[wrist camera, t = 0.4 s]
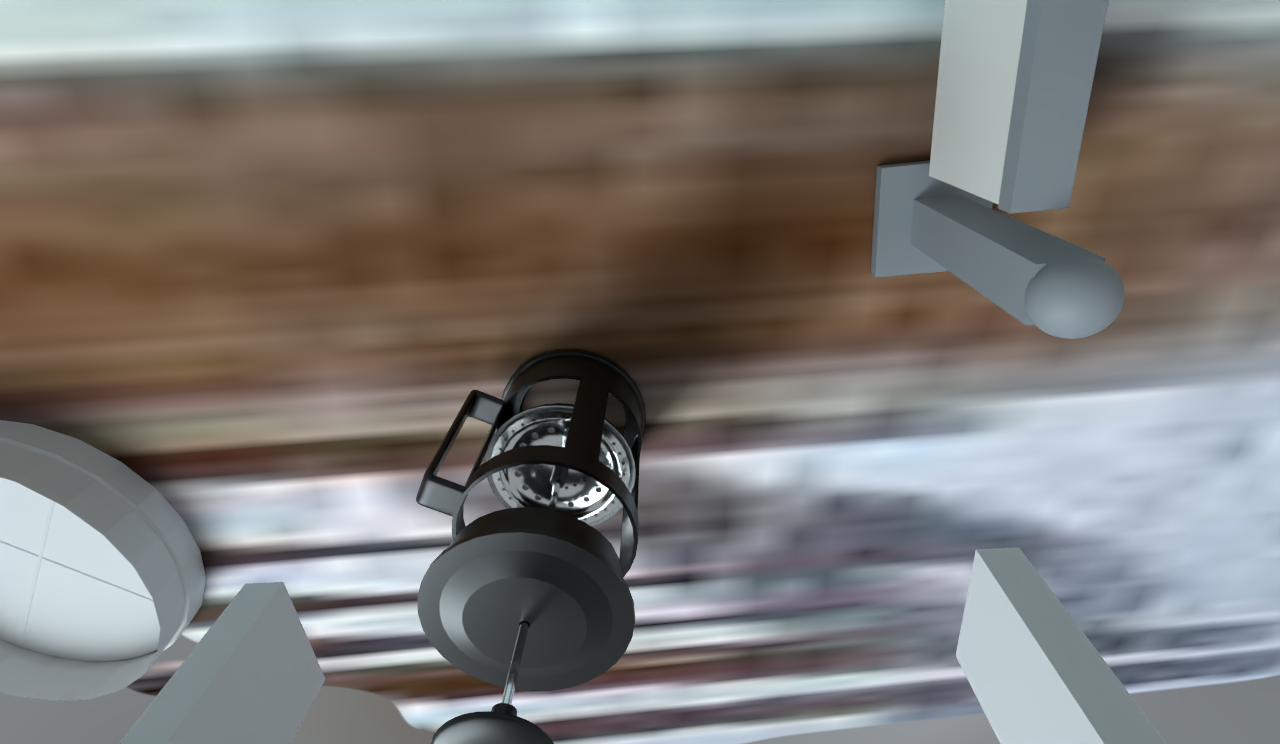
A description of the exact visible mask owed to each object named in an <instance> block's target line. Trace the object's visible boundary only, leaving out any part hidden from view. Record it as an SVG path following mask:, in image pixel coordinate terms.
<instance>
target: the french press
mask: <svg viewBox="0 0 1280 744" xmlns="http://www.w3.org/2000/svg"><path fill="white" fill-rule="evenodd" d="M560 378H568V379H576V380H580V384H579V388H578V392H577V396H576V401H575V405H573V404H562V403H557V404H545V405H541V406H537V407H532V408H530V409H528V410H525V411H523V412H521V413H520V409H521V403H522V399H523V397H524V396H525V394H526V392H527V391H528V390H529V389H530V387H531V386H532V385H533V384H535V383H537V382H541V381H545V380H549V379H560ZM608 393H611V394H612V395H613V396H615V397H616V398H617V399H618V400H619V401H620V402H621V403H622V404H623V407H624V410H625V416H626V424H625V429H624V432H623V434H622V435H621V433H620V432H619V431H618V430H617V429H616V428H615V426H614V425H613V424H612V423H610V422H609V421H608V420H607V419H606V418H605V414H606V407H607V400H608ZM467 417H473V418H476V419H478V420H481V421H483V422H486V423H489V424H491V425H492V427H491V429H490V431H489V434H488V436H487V438H486V440H485V442H484V445H483V447H482V449H481V451H480V454H479V456H478V458H477V460H476V462H475V465H474V467H473V469H472V471H471V474H470V476H469V478H468V480H467V482H466V485H465V486H462V485H459V484H457V483H454V482H451V481H448V480H446V479H443V478H440V477H437V476H436V475H437V473H438V471H439V469H440V467H441V465H442V463H443V461H444V459H445V458H446V456H447V454H448V452H449V450H450V448H451V446H452V444H453V443H454V441H455V439H456V437H457V435H458V433H459V431H460V429H461V428H462V426H463V424H464V422H465V420H466V418H467ZM645 422H646V413H645V404H644V401H643V398H642V394H641V392H640V390H639V389H638V387H637V385H636V383H635V382H634V380H633V379H632V378H631V377H630V376H629V375H628V373H627V372H626V371H625V370H624V369H622V368H621V367H620V366H619V365H617V364H616V363H615V362H613V361H611V360H609V359H607V358H605V357H604V356H602V355H599V354H595V353H592V352H589V351H584V350H576V349H564V350H555V351H551V352H547V353H543V354H541V355H539V356H537V357H535V358H532V359H530V360H529V361H528V362H526V363H525V364H524V365H522V366H521V367H520V368H519V369H518V370H517V371H516V372H515V373H514V374H513V376H512V377H511V378H510V380H509V382H508V384H507V386H506V387H505V389H504V393H503V396H502V400H501V399H499V398H496V397H494V396H491V395H489V394H486V393H483V392H481V391H478V390H472V391H471V393H470V394H469V396H468V397H467V399H466V401H465V403H464V404H463V406H462V408H461V410H460V411H459V413H458V415H457V417H456V419H455V420H454V422H453V424H452V426H451V427H450V429H449V431H448V433H447V435H446V436H445V438H444V440H443V442H442V443H441V445H440V447H439V449H438V451H437V452H436V454H435V456H434V458H433V459H432V461H431V463H430V465H429V467H428V468H427V470H426V472H425V474H424V477H423V480H422V483H421V485H420V488H419V491H418V494H417V497H416V501H417V503H418V504H420V505H422V506H425V507H427V508H430V509H433V510H436V511H439V512H442V513H444V514H447V515H450V516H453V519H452V536H453V541H452V543H451V545H450V547H449V548H447V549H446V550H444V551H443V552H442V553H441V554H440V555H439V556H438V557H437V558H436V559H435V560H434V561H433V562H432V563H431V565H430V567H429V569H428V571H427V572H426V574H425V576H424V578H423V580H422V582H421V586H420V590H419V594H418V615H419V618H420V621H421V625H422V628H423V630H424V632H425V634H426V635H427V637H428V639H429V640H430V642H431V644H432V645H433V646H434V647H435V648H436V649H437V650H438V652H439V653H440V654H441V655H442V656H443V657H444V658H445V659H447V660H448V661H449V662H450V663H452V664H453V665H454V666H455V667H457V668H458V669H460V670H462V671H464V672H465V673H467V674H469V675H471V676H472V677H474V678H477V679H479V680H482V681H485V682H487V683H490V684H492V685H497V686H501V687H505V690H504V694H503V698H502V702H501V703H499V704H496V705H494V706H493V708H492V711H491V712H474V713H467V714H464V715H461V716H458V717H455V718H453V719H451V720H449V721H447V722H446V723H445V724H443V725H442V726H441V727H440V728H439V729H438V730H437V731H436V733H435V734H434V736H433V738H432V742H431V744H554V743H553V741H552V740H551V738H550V737H549V736H548V735H547V734H546V733H545V732H544V731H543V730H542V729H540V728H539V727H538V726H536V725H535V724H533V723H531V722H529V721H527V720H525V719H522V718H520V717H517V710H516V708H515V707H514V706H512V705H511V704H512V699H513V695H514V690H524V691H552V690H558V689H564V688H570V687H573V686H576V685H579V684H582V683H585V682H588V681H590V680H592V679H594V678H595V677H597V676H599V675H601V674H603V673H604V672H605V671H607V670H608V669H609V668H610V667H612V666H613V665H614V664H616V662H617V661H618V660H619V659H620V657H621V656H622V655H623V654H624V653H625V651H626V649H627V647H628V645H629V643H630V641H631V639H632V635H633V630H634V624H635V612H634V602H633V599H632V596H631V593H630V590H629V588H628V585H627V584H626V582H625V581H624V579H623V577H624V576H625V575H626V573H627V572H628V571H629V569H630V567H631V565H632V563H633V560H634V558H635V556H636V550H637V544H638V513H637V507H638V483H639V458H640V451H641V443H642V436H643V433H644V429H645ZM493 435H494V436H493ZM492 437H493V438H492ZM487 449H488V450H487ZM486 451H487V454H486V462H485V463H484V464H482V465H481V462H482V460H483V458H484V456H485V453H486ZM480 465H481V466H480ZM486 477H487V478H488V481H489V484H490V486H491V488H492V490H493V492H494V494H495V495H496V496H497V498H498V499H499V500H500V502H501V503H502V504H503V505H504V506H505V507H506V508H507V509H504V510H499V511H495V512H492V513H490V514H487V515H485V516H482V517H480V518H478V519H476V520H475V521H473V522H472V523H470V524H469V525H467V526H466V527H465V523H464V519H463V504H464V501H465V499H466V497H467V495H468V493H469V492H470V491H471V490H472V489H473V488H474V487H475V485H476V484H478V483H479V482H481V481H482V480H484V479H485V478H486ZM622 507H623V519H622V533H621V547H620V560H619V558H618V556H617V554H616V552H615V550H614V548H613V546H612V544H611V543H610V542H609V541H608V540H607V539H606V538H605V537H604V536H603V535H602V534H601V533H600V532H599V531H597V530H596V529H594V528H593V527H591V526H594V525H596V524H599V523H602V522H603V521H605V520H607V519H608V518H610V517H612V516H613V515H614V514H615V513H616V512H617V511H619V510H620V509H621V508H622Z"/></svg>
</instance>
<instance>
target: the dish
mask: <svg viewBox="0 0 1280 744" xmlns="http://www.w3.org/2000/svg"><path fill="white" fill-rule="evenodd" d="M205 584H206V576H205V571H204V566H203V562H202V557H201V552H200V549H199V547H198V545H197V544H196V542H195V540H194V538H193V536H192V534H191V532H190V531H189V529H188V527H187V525H186V523H185V521H184V520H183V518H182V517H181V516H180V515H179V514H178V513H177V512H176V511H175V509H174V508H173V507H172V506H171V505H170V504H169V503H168V502H167V500H166V499H165V498H164V497H163V496H162V495H161V494H160V493H159V491H158V490H157V489H156V488H154V487H153V486H152V485H150V484H149V483H148V482H146V481H145V480H144V479H143V478H141V477H140V476H139V475H137V474H136V473H135V472H134V471H132V470H131V469H130V468H128V467H127V466H126V465H125V464H123V463H122V462H121V461H119V460H117V459H115V458H113V457H111V456H109V455H107V454H106V453H104V452H102V451H100V450H98V449H96V448H94V447H92V446H91V445H89V444H87V443H85V442H83V441H81V440H79V439H77V438H74V437H71V436H68V435H64V434H61V433H58V432H55V431H52V430H49V429H46V428H43V427H40V426H37V425H34V424H27V423H20V422H12V421H5V420H0V692H2V693H6V694H9V695H13V696H17V697H25V698H33V699H34V698H35V699H43V700H51V701H67V700H84V699H93V698H96V697H100V696H103V695H107V694H110V693H113V692H117V691H120V690H122V689H124V688H125V687H127V686H128V685H130V684H131V683H133V682H134V681H135V680H137V679H138V678H140V677H141V676H143V675H144V674H145V673H146V671H147V670H148V669H149V668H150V666H151V665H152V664H153V663H154V661H155V660H156V659H157V658H158V656H159V655H160V654H161V653H162V651H164V650H165V649H167V648H168V647H169V646H171V645H172V644H173V643H174V642H175V641H176V639H177V638H178V637H179V636H180V635H181V633H182V632H183V631H184V630H185V629H186V627H187V626H188V625H189V624H190V622H191V621H192V619H193V618H194V616H195V615H196V613H197V612H198V610H199V609H200V607H201V606H202V602H203V596H204V590H205Z"/></svg>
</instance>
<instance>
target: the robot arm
mask: <svg viewBox="0 0 1280 744" xmlns="http://www.w3.org/2000/svg"><path fill="white" fill-rule="evenodd" d="M956 657H957V659H958V661H959V663H960V665H961V667H962V669H963V671H964V673H965V675H966V677H967V679H968V681H969V683H970V685H971V687H972V689H973V691H974V693H975V695H976V696H977V698H978V700H979V702H980V704H981V706H982V708H983V710H984V712H985V714H986V716H987V718H988V720H989V722H990V724H991V726H992V728H993V730H994V732H995V734H996V736H997V738H998V740H999V742H1000V744H1167V743H1166V742H1165V741H1164V739H1163V738H1162V737H1161V735H1160V734H1159V733H1158V732H1157V730H1156V729H1155V727H1154V726H1153V725H1152V723H1151V722H1150V721H1149V720H1148V718H1147V717H1146V715H1145V714H1144V713H1143V711H1142V710H1141V709H1140V707H1139V706H1138V705H1137V704H1136V702H1135V701H1134V700H1133V698H1132V697H1131V696H1130V694H1129V693H1128V692H1127V690H1126V689H1125V688H1124V686H1123V685H1122V684H1121V682H1120V681H1119V680H1118V678H1117V677H1116V676H1115V674H1114V673H1113V672H1112V670H1111V669H1110V668H1109V666H1108V665H1107V664H1106V662H1105V661H1104V660H1103V658H1102V657H1101V656H1100V654H1099V653H1098V652H1097V650H1096V649H1095V648H1094V646H1093V645H1092V644H1091V642H1090V641H1089V640H1088V638H1087V637H1086V636H1085V634H1084V633H1083V632H1082V630H1081V629H1080V628H1079V626H1078V625H1077V624H1076V622H1075V621H1074V620H1073V618H1072V617H1071V616H1070V614H1069V613H1068V612H1067V610H1066V609H1065V608H1064V606H1063V605H1062V604H1061V602H1060V601H1059V600H1058V599H1057V597H1056V596H1055V595H1054V593H1053V592H1052V591H1051V589H1050V588H1049V587H1048V585H1047V584H1046V583H1045V581H1044V580H1043V579H1042V577H1041V576H1040V575H1039V573H1038V572H1037V571H1036V569H1035V568H1034V567H1033V565H1032V564H1031V563H1030V561H1029V560H1028V559H1027V557H1026V556H1025V555H1024V553H1023V552H1022V551H1021V549H1020V548H998V549H977V550H976V552H975V557H974V563H973V568H972V573H971V578H970V584H969V589H968V594H967V599H966V605H965V610H964V615H963V620H962V626H961V631H960V636H959V641H958V646H957V652H956ZM324 681H325V677H324V675H323V673H322V670H321V668H320V666H319V664H318V661H317V659H316V657H315V654H314V652H313V650H312V647H311V645H310V643H309V640H308V638H307V636H306V633H305V631H304V629H303V627H302V624H301V622H300V620H299V617H298V615H297V613H296V610H295V608H294V606H293V603H292V601H291V599H290V596H289V594H288V592H287V590H286V587H285V585H284V583H283V582H274V583H253V584H245V585H244V586H243V587H242V589H241V590H240V591H239V593H238V594H237V595H236V596H235V598H234V599H233V600H232V601H231V603H230V604H229V605H228V606H227V608H226V609H225V610H224V612H223V613H222V614H221V615H220V617H219V618H218V619H217V620H216V622H215V623H214V624H213V625H212V627H211V628H210V629H209V631H208V632H207V633H206V634H205V636H204V637H203V638H202V639H201V641H200V642H199V643H198V644H197V646H196V647H195V648H194V650H193V651H192V652H191V653H190V655H189V656H188V657H187V658H186V660H185V661H184V662H183V663H182V665H181V666H180V667H179V668H178V670H177V671H176V672H175V674H174V675H173V676H172V677H171V679H170V680H169V681H168V682H167V684H166V685H165V686H164V687H163V689H162V690H161V691H160V692H159V694H158V695H157V696H156V698H155V699H154V700H153V702H152V703H151V704H150V705H149V706H148V708H147V709H146V710H145V711H144V713H143V714H142V715H141V717H140V718H139V719H138V721H137V722H136V723H135V724H134V726H133V727H132V728H131V729H130V730H129V732H128V733H127V734H126V736H125V737H124V738H123V739H122V741H121V742H120V743H119V744H291V743H292V741H293V739H294V737H295V735H296V733H297V731H298V729H299V728H300V726H301V724H302V722H303V720H304V718H305V717H306V715H307V713H308V711H309V709H310V707H311V705H312V704H313V702H314V700H315V698H316V696H317V694H318V692H319V690H320V689H321V687H322V685H323V683H324Z"/></svg>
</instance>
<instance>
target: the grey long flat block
mask: <svg viewBox="0 0 1280 744" xmlns="http://www.w3.org/2000/svg"><path fill="white" fill-rule="evenodd" d="M1107 5H1108V0H945V6H944V17H943V28H942V39H941V49H940V60H939V71H938V82H937V93H936V103H935V114H934V125H933V136H932V147H931V157H930V168H929V176H931V177H933V178H935V179H938V180H940V181H943V182H945V183H947V184H950V185H952V186H955V187H957V188H960V189H962V190H964V191H967V192H969V193H972V194H974V195H977V196H979V197H981V198H984V199H986V200H989V201H991V202H993V203H996V204H998V208H999V209H1001V210H1003V211H1006V212H1008V213H1021V212H1031V211H1042V210H1052V209H1063V208H1069V205H1070V200H1071V194H1072V189H1073V184H1074V179H1075V173H1076V168H1077V163H1078V157H1079V152H1080V147H1081V142H1082V136H1083V131H1084V126H1085V121H1086V115H1087V110H1088V105H1089V100H1090V94H1091V89H1092V84H1093V79H1094V73H1095V68H1096V63H1097V58H1098V52H1099V47H1100V42H1101V36H1102V31H1103V26H1104V21H1105V15H1106V10H1107Z"/></svg>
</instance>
